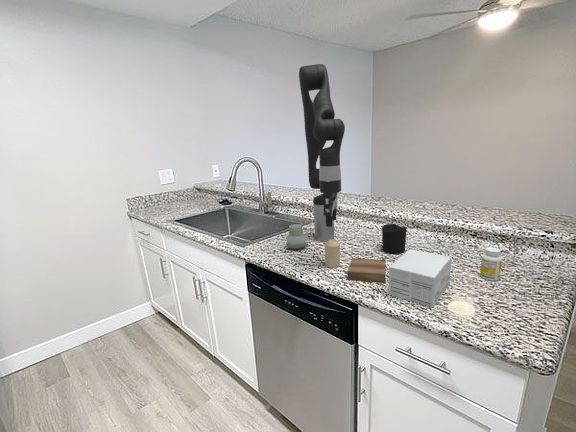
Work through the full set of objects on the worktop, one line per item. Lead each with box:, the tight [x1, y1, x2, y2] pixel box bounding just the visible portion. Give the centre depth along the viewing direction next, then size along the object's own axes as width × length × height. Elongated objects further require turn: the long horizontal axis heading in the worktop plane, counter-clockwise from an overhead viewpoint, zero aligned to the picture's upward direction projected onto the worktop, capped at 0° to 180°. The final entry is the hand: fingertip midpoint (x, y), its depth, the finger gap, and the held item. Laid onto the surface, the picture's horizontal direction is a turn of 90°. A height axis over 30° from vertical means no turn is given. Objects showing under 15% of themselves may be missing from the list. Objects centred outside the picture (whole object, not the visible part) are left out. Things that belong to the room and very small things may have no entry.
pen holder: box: [381, 223, 408, 255], centre depth 124 cm, size 9×9×10 cm
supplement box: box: [388, 248, 452, 308], centre depth 93 cm, size 17×13×9 cm
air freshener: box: [286, 223, 307, 250], centre depth 135 cm, size 11×8×10 cm
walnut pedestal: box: [347, 257, 387, 284], centre depth 106 cm, size 12×12×3 cm
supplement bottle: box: [479, 246, 503, 282], centre depth 97 cm, size 5×5×10 cm
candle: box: [324, 238, 341, 269], centre depth 113 cm, size 6×6×10 cm
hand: (331, 223), depth 110 cm, fingers open, 8 cm apart
